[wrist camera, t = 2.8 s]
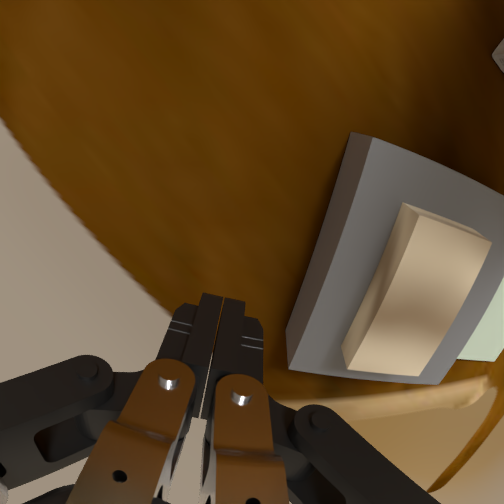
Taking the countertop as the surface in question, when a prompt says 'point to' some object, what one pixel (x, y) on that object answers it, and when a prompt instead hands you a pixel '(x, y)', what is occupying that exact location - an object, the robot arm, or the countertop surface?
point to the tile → (414, 293)
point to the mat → (488, 332)
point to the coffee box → (499, 55)
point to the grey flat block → (372, 248)
